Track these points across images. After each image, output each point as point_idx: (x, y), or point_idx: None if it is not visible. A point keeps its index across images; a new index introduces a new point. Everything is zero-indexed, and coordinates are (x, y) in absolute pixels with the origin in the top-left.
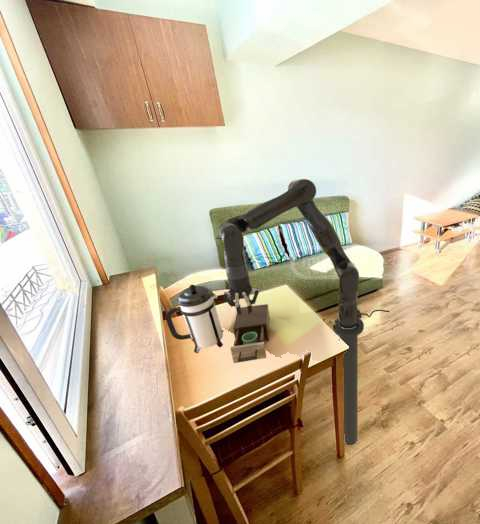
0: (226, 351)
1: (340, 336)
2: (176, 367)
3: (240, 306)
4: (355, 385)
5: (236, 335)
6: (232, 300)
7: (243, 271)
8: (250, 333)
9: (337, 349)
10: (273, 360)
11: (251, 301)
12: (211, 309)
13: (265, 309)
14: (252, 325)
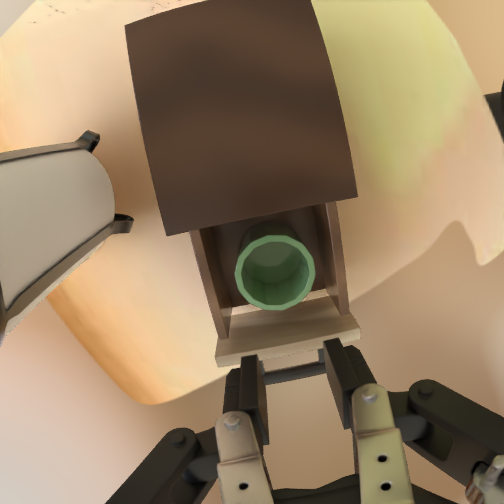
0: (155, 227)
1: (501, 124)
2: (47, 297)
3: (258, 393)
4: None
5: (204, 275)
6: (183, 471)
7: None
8: (268, 240)
9: None
10: (354, 281)
11: (403, 440)
12: (5, 294)
13: (310, 37)
14: (277, 211)
